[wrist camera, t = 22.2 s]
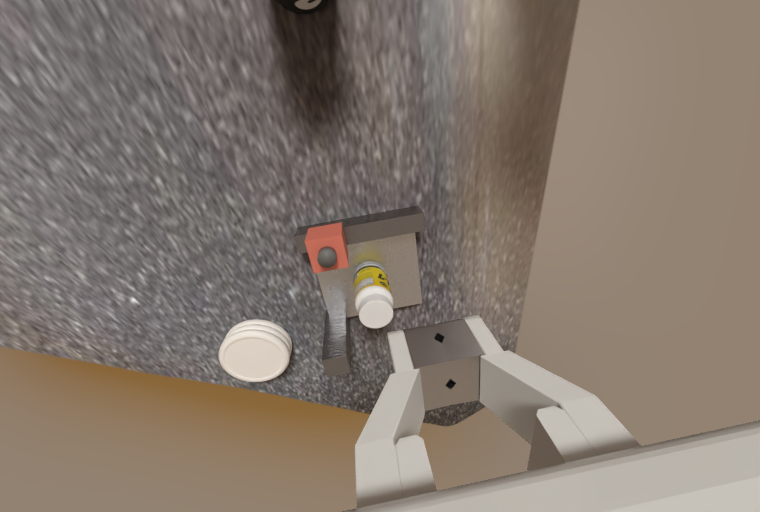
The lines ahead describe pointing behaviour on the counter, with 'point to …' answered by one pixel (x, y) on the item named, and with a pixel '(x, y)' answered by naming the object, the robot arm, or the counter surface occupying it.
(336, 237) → the handle
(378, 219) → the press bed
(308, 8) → the beverage can
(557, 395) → the robot arm
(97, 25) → the counter surface
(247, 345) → the coaster
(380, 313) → the supplement bottle
